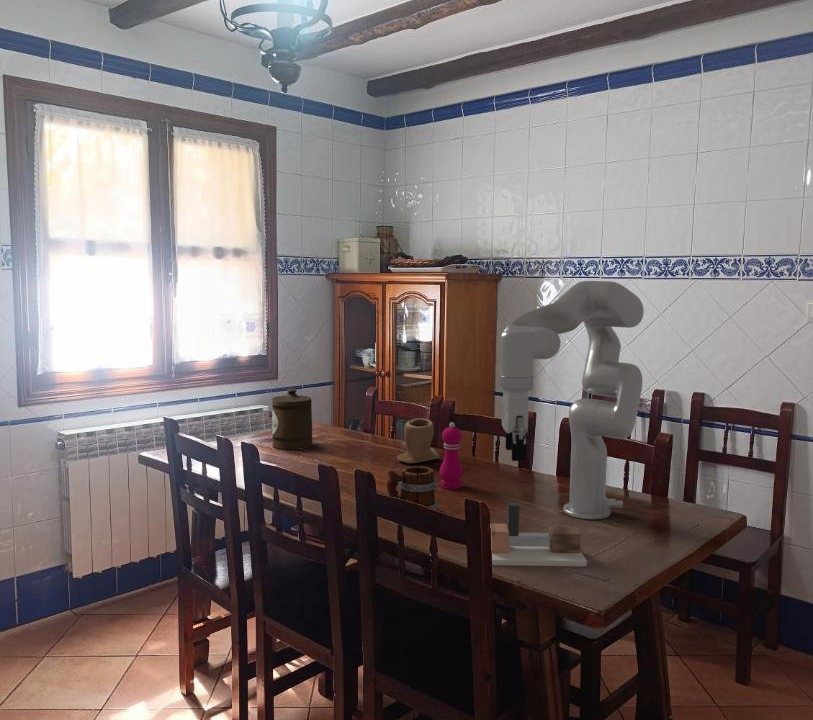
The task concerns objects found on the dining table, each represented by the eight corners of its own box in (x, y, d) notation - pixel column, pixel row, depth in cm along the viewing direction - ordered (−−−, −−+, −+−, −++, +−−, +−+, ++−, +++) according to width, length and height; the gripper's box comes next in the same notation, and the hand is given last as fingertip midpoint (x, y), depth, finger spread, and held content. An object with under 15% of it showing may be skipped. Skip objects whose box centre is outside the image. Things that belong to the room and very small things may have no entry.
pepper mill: (461, 490, 224) (462, 425, 222) (437, 488, 226) (438, 424, 223) (464, 483, 231) (465, 420, 229) (441, 482, 233) (442, 419, 230)
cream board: (573, 543, 181) (573, 538, 181) (586, 566, 167) (586, 561, 167) (482, 542, 181) (482, 537, 181) (488, 565, 167) (488, 559, 167)
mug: (449, 513, 201) (442, 461, 199) (404, 530, 195) (395, 477, 192) (428, 502, 212) (421, 452, 209) (384, 517, 205) (376, 466, 203)
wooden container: (279, 440, 289) (278, 384, 286) (316, 442, 287) (316, 385, 284) (267, 449, 274) (266, 390, 271) (306, 450, 272) (305, 391, 269)
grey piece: (555, 542, 175) (556, 502, 174) (557, 546, 172) (558, 506, 171) (495, 542, 175) (496, 502, 174) (497, 546, 172) (498, 505, 171)
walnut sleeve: (575, 546, 176) (576, 527, 175) (579, 553, 171) (580, 534, 171) (547, 545, 176) (548, 526, 175) (551, 552, 171) (552, 533, 171)
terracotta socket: (505, 544, 176) (506, 523, 176) (508, 553, 171) (509, 531, 170) (488, 544, 176) (489, 523, 176) (491, 553, 171) (491, 531, 170)
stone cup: (412, 468, 249) (412, 424, 247) (392, 460, 259) (393, 418, 257) (448, 462, 258) (448, 419, 256) (428, 455, 267) (428, 414, 266)
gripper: (495, 377, 181) (494, 446, 183) (505, 389, 164) (504, 465, 166) (526, 377, 181) (525, 445, 183) (539, 389, 164) (538, 465, 166)
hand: (515, 455), depth 175 cm, fingers open, 9 cm apart
